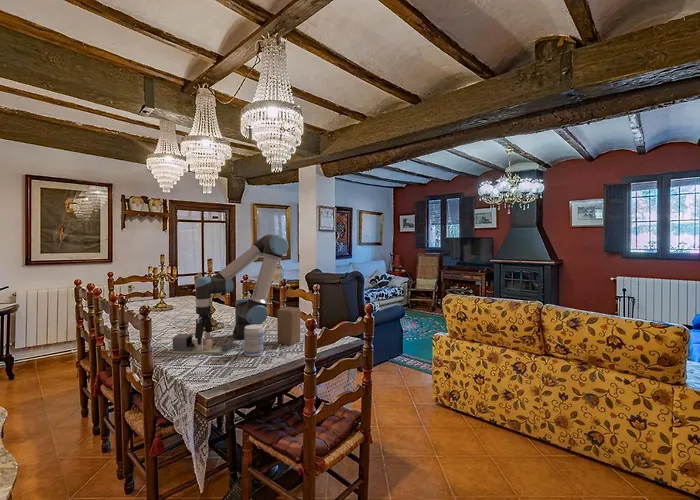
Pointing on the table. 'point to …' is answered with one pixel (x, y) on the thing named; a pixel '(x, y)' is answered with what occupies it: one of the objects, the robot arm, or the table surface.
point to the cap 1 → (183, 342)
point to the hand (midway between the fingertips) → (204, 347)
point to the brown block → (206, 344)
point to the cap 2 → (227, 346)
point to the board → (204, 351)
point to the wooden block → (288, 325)
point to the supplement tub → (253, 340)
